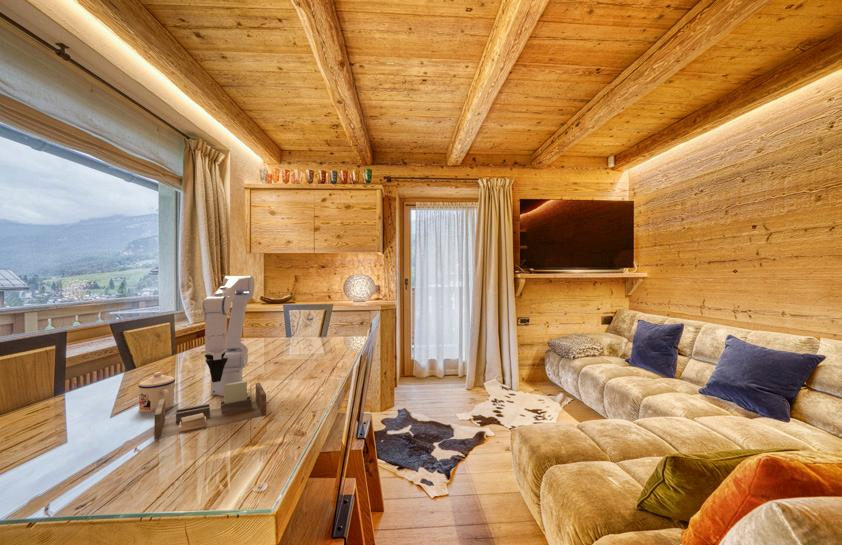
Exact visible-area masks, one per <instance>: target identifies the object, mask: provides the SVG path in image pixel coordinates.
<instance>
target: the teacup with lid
mask: <svg viewBox="0 0 842 545" xmlns="http://www.w3.org/2000/svg"><path fill="white" fill-rule="evenodd" d="M175 381H176V379H175V377H174V376H167V375H165V374H162V372H161V371H156V372H154V373H153V375H152V376H150V377H148V378H146V379H144V380H142V381H140V382H139V384H138V388H139V389H138V390H139V391H138V394H139V395H138V397H139V400H138V401H139V402H138V406H139V407H138V408H139V409H138V410H139V412H141V413H150V412H151V413H152V412H156V409H157V406H158V403H159V400H160V399H163V398H165V410H166V409H168V408H171V407H172V406H174V405H175Z"/></svg>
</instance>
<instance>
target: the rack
mask: <svg viewBox="0 0 842 545" xmlns="http://www.w3.org/2000/svg"><path fill="white" fill-rule="evenodd" d="M210 406H211V405H210V403H206V404H204V403H203V404H200V405H195V406H189V407H184V408H183V407H182V408H178V409H176V413H175V416H170V417H166V409H165V398H163V399H160V400H159V403H158V406H157V409H156V411H154V412H155V413H154V428H153V430H154V440H160V439H164V438H168V437H172V436H176V435H181V434H186V433H191V432H195V431H199V430H201V431H202V430H205V429H209V428H214V427H219V426H222V425H228V424H232V423H237V422H242V421H246V420H252V419H254V418H255V419H256V418H260V417H265V416H267V392H265V390H264V388H263V386H262V384H261V383H260V382H257V383H255V401H252V399H251V395H250V396H248V395H247V400H243V401H237V402H232V403H227V404H224V400H222V401H220V407H219V408H217V407H216V408H211V407H210ZM200 413H203V414H204V416H205V417H206V426H204V427H199V428H195V429H190V430H185V431H181V432H179V424H180V422H181V418H183V417H187V416H192V415H196V414H200Z"/></svg>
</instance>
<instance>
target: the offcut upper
mask: <svg viewBox="0 0 842 545" xmlns="http://www.w3.org/2000/svg"><path fill="white" fill-rule="evenodd" d="M203 421H205V416H204V414H203V413H200V414H196V415H192V416H187V417H183V418H181V424H182V427H183V426H187V425H191V424H195V423H199V422H203Z"/></svg>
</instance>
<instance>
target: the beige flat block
mask: <svg viewBox="0 0 842 545" xmlns="http://www.w3.org/2000/svg"><path fill="white" fill-rule="evenodd" d="M223 397H224V398H223V399H224V400H223V401H224V404H227V403H232V402H237V401H243V400H247V397H248V381H247V380H242V381H241V382H235V383H229V384H224V396H223Z"/></svg>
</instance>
